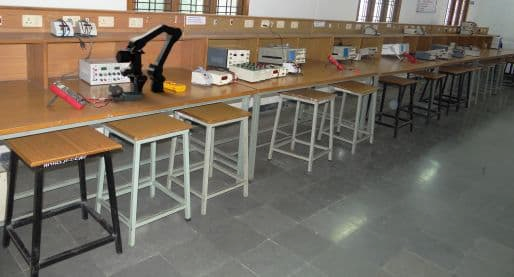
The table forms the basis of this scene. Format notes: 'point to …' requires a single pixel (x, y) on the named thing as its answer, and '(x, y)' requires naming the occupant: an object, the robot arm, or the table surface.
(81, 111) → the table surface
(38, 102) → the table surface
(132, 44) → the robot arm
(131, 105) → the table surface
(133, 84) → the pump block
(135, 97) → the motor mount
